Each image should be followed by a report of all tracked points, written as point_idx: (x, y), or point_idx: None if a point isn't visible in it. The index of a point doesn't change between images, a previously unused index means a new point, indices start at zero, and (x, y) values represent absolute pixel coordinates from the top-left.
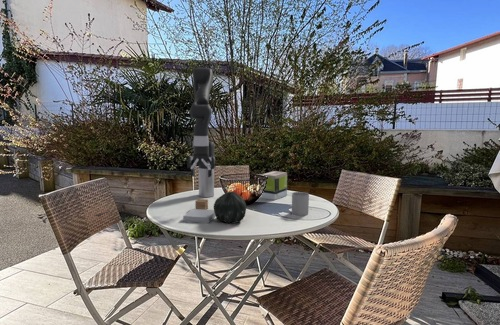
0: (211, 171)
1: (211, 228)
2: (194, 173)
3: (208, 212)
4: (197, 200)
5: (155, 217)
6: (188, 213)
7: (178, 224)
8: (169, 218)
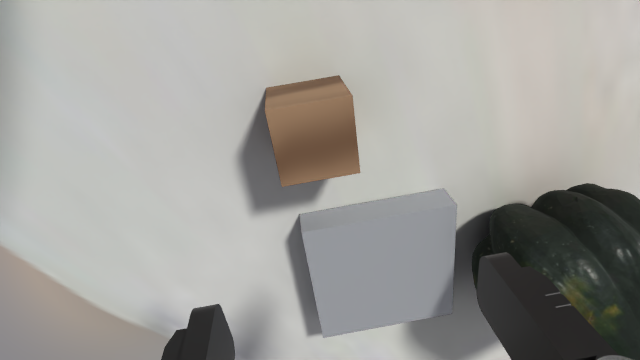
0: (586, 341)
1: (469, 331)
2: (215, 352)
3: (424, 254)
4: (283, 158)
5: (154, 324)
6: (326, 304)
7: (320, 346)
8: (230, 310)
